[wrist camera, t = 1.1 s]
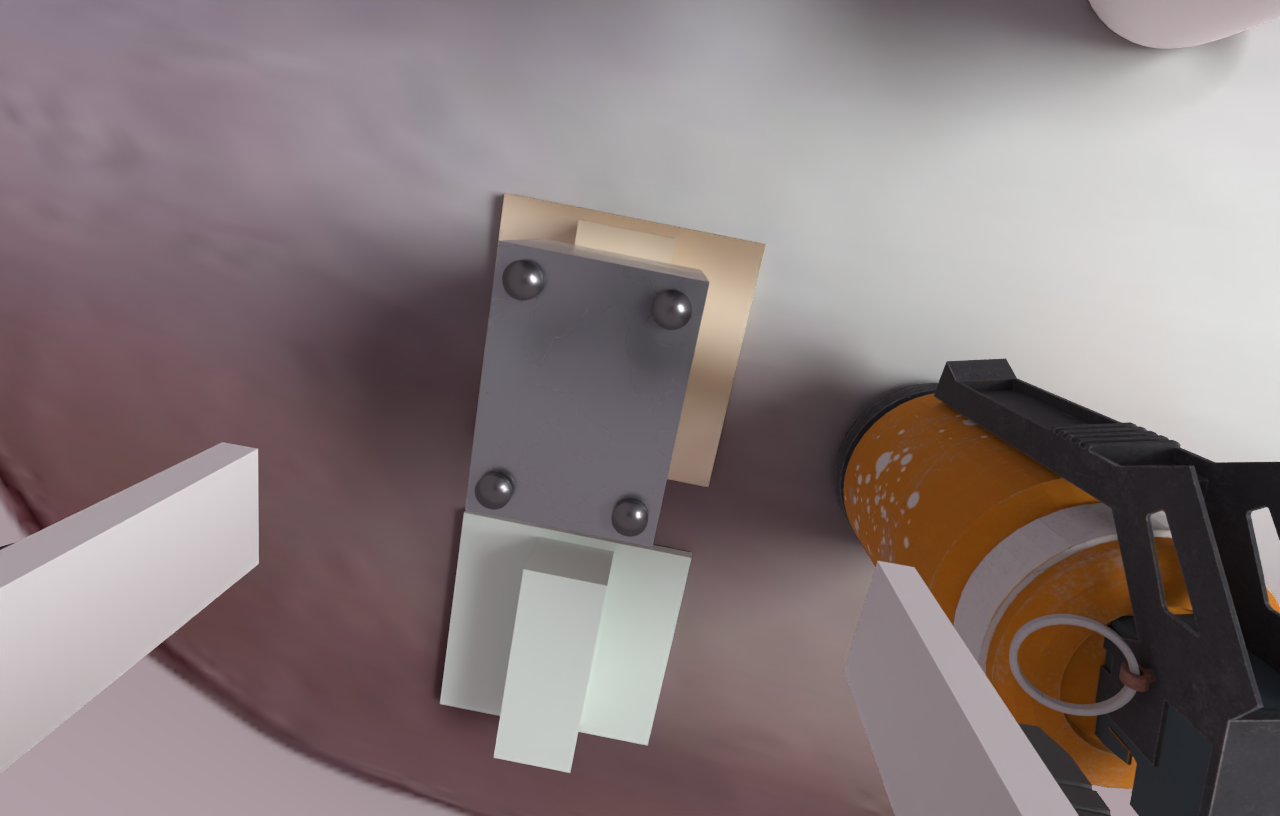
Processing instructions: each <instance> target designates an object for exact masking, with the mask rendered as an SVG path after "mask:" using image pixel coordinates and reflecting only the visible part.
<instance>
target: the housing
mask: <svg viewBox="0 0 1280 816" xmlns="http://www.w3.org/2000/svg"><path fill="white" fill-rule="evenodd" d="M709 283H710V282H709V281H708V279H707V278H706V276H705V275H704V273H703V272H702V270H700V269H695V268H690V267H685V266H680V265H674V264H669V263H664V262H659V261H654V260H649V259H644V258H639V257H634V256H629V255H624V254H619V253H614V252H609V251H604V250H598V249H593V248H588V247H583V246H578V245H573V244H568V243H563V242H558V241H553V240H548V239H526V240H499V242H498V250H497V258H496V266H495V274H494V282H493V289H492V297H491V305H490V313H489V321H488V329H487V337H486V345H485V353H484V361H483V368H482V376H481V384H480V392H479V400H478V408H477V416H476V424H475V432H474V440H473V447H472V455H471V463H470V471H469V479H468V487H467V495H466V503H465V510H469V511H474V512H479V513H484V514H489V515H494V516H499V517H504V518H509V519H514V520H519V521H524V522H529V523H534V524H540V525H545V526H550V527H555V528H560V529H565V530H570V531H575V532H580V533H585V534H590V535H595V536H600V537H605V538H610V539H615V540H620V541H625V542H630V543H635V544H640V545H645V546H650V547H653V542H654V538H655V533H656V528H657V524H658V519H659V515H660V510H661V505H662V501H663V496H664V491H665V487H666V482H667V477H668V473H669V468H670V464H671V459H672V454H673V450H674V445H675V440H676V436H677V431H678V426H679V422H680V417H681V413H682V408H683V403H684V399H685V394H686V389H687V385H688V380H689V375H690V371H691V366H692V362H693V357H694V352H695V348H696V343H697V338H698V334H699V329H700V324H701V320H702V315H703V311H704V306H705V301H706V297H707V292H708V287H709Z"/></svg>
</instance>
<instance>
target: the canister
mask: <svg viewBox="0 0 1280 816" xmlns="http://www.w3.org/2000/svg"><path fill="white" fill-rule="evenodd" d="M835 487H836V493H837V497H838V501H839V504H840V506H841V509H842V511H843V513H844V515H845V517H846V518H847V520H848V522H849V523H850V525H851V526H852V528H853V530H854V532H855V534H856V535H857V537H858V539H859V540H860V542H861V544H862V545H863V547H864V549H865V550H866V552H867V554H868V555H869V557H870V559H871V560H872V562H873V564H874V565H875V567H876V564H877V561H882V562H888V563H894V564H899V565H905V566H910V567H915V569H916V570H917V572H918V574H919V575H920V577H921V578H922V580H923V581H924V583H925V584H926V586H927V587H928V589H929V590H930V592H931V593H932V595H933V596H934V598H935V599H936V601H937V602H938V604H939V605H940V607H941V608H942V610H943V611H944V613H945V614H946V616H947V617H948V619H949V620H950V622H951V623H952V625H953V626H954V628H955V629H956V631H957V632H958V634H959V635H960V637H961V639H962V640H963V642H964V643H965V645H966V646H967V648H968V649H969V651H970V652H971V654H972V655H973V657H974V658H975V660H976V661H977V663H978V664H979V666H980V667H981V669H982V670H983V672H984V673H985V675H986V676H987V678H988V679H989V681H990V682H991V684H992V685H993V687H994V688H995V690H996V691H997V693H998V694H999V696H1000V697H1001V699H1002V700H1003V702H1004V704H1005V705H1006V707H1007V708H1008V710H1009V711H1010V713H1011V714H1012V716H1013V717H1014V719H1015V720H1016V722H1017V723H1022V724H1027V725H1032V726H1038V727H1040V728H1041V729H1042V730H1043V731H1044V732H1045V733H1046V734H1047V735H1049V736H1050V737H1051V738H1052V739H1053V740H1054V741H1055V742H1056V743H1057V744H1059V745H1060V746H1061V747H1062V748H1063V749H1064V750H1065V751H1066V752H1068V753H1069V754H1070V755H1071V757H1072V758H1073V760H1074V761H1075V762H1076V764H1077V765H1078V767H1079V768H1080V769H1081V771H1082V772H1083V773H1084V775H1085V776H1086V778H1087V779H1088V780H1089V782H1090V783H1091V784H1092V785H1097V786H1102V787H1108V788H1125V789H1129V788H1133V790H1132V796H1131V802H1130V805H1131V806H1132V807H1133V809H1134V810H1135V811H1136V812H1137V814H1138V815H1139V816H1280V607H1279V605H1278V603H1277V601H1276V599H1275V597H1274V595H1273V593H1272V591H1271V590H1270V588H1269V586H1268V584H1267V582H1266V581H1265V580H1264V575H1263V570H1262V566H1261V561H1260V556H1259V552H1258V547H1257V543H1256V538H1255V533H1254V529H1253V524H1252V519H1251V512H1252V511H1254V510H1258V509H1261V508H1265V507H1268V508H1269V510H1270V513H1271V516H1272V519H1273V522H1274V525H1275V528H1276V531H1277V534H1278V537H1279V540H1280V462H1228V463H1215V462H1213V461H1210V460H1208V459H1206V458H1203V457H1201V456H1199V455H1196V454H1194V453H1192V452H1189V451H1187V450H1185V449H1182V448H1180V444H1179V443H1178V442H1176V441H1174V440H1169V439H1168V438H1166V437H1164V436H1162V435H1160V436H1158V435H1157V434H1156V433H1154V432H1152V431H1147V430H1146V429H1145V428H1142V427H1137V426H1136V425H1135V424H1133V423H1121V422H1118V421H1116V420H1114V419H1111V418H1109V417H1107V416H1104V415H1102V414H1100V413H1097V412H1095V411H1093V410H1090V409H1088V408H1085V407H1083V406H1081V405H1078V404H1076V403H1074V402H1071V401H1069V400H1067V399H1064V398H1062V397H1060V396H1057V395H1055V394H1052V393H1050V392H1048V391H1045V390H1043V389H1041V388H1038V387H1036V386H1034V385H1031V384H1029V383H1027V382H1024V381H1022V380H1019V379H1017V378H1016V376H1015V374H1014V372H1013V371H1012V369H1011V367H1010V365H1009V364H1008V362H1007V360H1006V359H989V360H968V361H947V362H946V365H945V368H944V370H943V373H942V376H941V378H940V381H939V383H931V384H922V385H916V386H913V387H909V388H905V389H902V390H900V391H898V392H895V393H893V394H891V395H888V396H887V397H885V398H884V399H882V400H880V401H879V402H877V403H875V404H874V405H873V406H872V407H871V408H869V409H868V410H867V411H866V412H865V413H864V414H863V415H862V416H861V417H860V418H859V419H858V420H857V421H856V422H855V424H854V425H853V426H852V428H851V429H850V431H849V432H848V434H847V435H846V437H845V439H844V441H843V444H842V446H841V448H840V451H839V454H838V458H837V462H836V469H835Z"/></svg>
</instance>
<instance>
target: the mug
mask: <svg viewBox="0 0 1280 816" xmlns="http://www.w3.org/2000/svg"><path fill="white" fill-rule="evenodd" d="M1089 2H1090V4H1091V6H1092V8H1093V10H1094V11H1095V12H1096V14H1097V15H1098V17H1099V18H1100V19H1101V20H1102V21H1103V22H1104V23H1105V24H1106V25H1107V26H1108V27H1109V28H1110V29H1111V30H1113V31H1114V32H1115V33H1117V34H1118V35H1120V36H1121V37H1123V38H1125V39H1127V40H1129V41H1131V42H1133V43H1137V44H1140V45H1143V46H1146V47H1152V48H1158V49H1175V48H1184V47H1192V46H1197V45H1201V44H1205V43H1209V42H1213V41H1216V40H1220V39H1223V38H1226V37H1229V36H1231V35H1234V34H1237V33H1240V32H1243V31H1245V30H1248V29H1251V28H1254V27H1257V26H1259V25H1262V24H1265V23H1268V22H1271V21H1273V20H1276V19H1279V18H1280V0H1089Z"/></svg>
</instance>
